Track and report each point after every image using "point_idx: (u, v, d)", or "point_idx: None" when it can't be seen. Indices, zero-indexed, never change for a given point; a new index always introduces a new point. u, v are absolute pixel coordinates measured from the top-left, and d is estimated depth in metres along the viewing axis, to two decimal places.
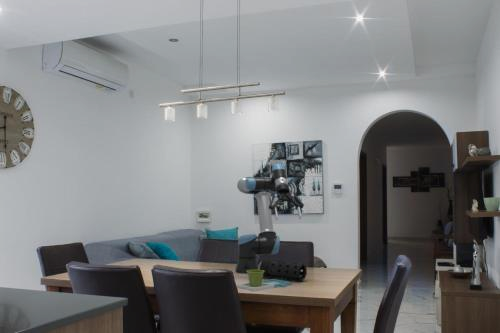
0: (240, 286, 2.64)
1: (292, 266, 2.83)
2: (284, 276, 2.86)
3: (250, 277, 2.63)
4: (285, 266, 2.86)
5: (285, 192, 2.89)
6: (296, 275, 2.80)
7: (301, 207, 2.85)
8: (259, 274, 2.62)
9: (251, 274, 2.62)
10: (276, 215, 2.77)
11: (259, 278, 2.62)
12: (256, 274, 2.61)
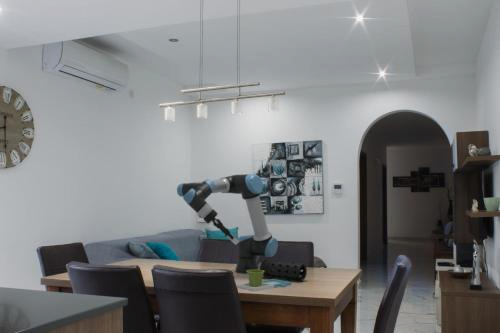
0: (240, 286, 2.64)
1: (292, 266, 2.83)
2: (284, 276, 2.86)
3: (250, 277, 2.63)
4: (285, 266, 2.86)
5: None
6: (296, 275, 2.80)
7: (228, 234, 2.56)
8: (259, 274, 2.62)
9: (251, 274, 2.62)
10: None
11: (259, 278, 2.62)
12: (256, 274, 2.61)
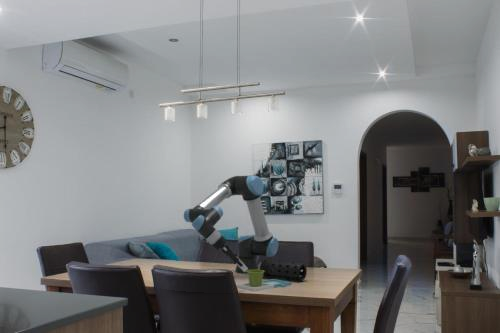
0: (240, 286, 2.64)
1: (292, 266, 2.83)
2: (284, 276, 2.86)
3: (250, 277, 2.63)
4: (285, 266, 2.86)
5: None
6: (296, 275, 2.80)
7: (237, 261, 2.55)
8: (259, 274, 2.62)
9: (251, 274, 2.62)
10: None
11: (259, 278, 2.62)
12: (256, 274, 2.61)
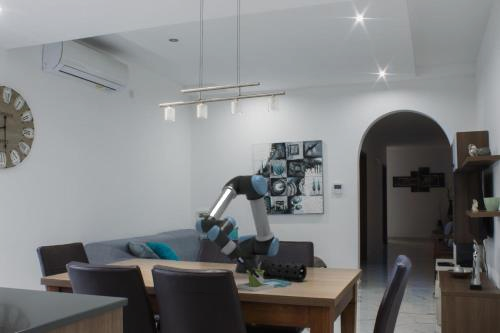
0: (240, 286, 2.64)
1: (292, 266, 2.83)
2: (284, 276, 2.86)
3: (250, 277, 2.63)
4: (285, 266, 2.86)
5: None
6: (296, 275, 2.80)
7: (253, 273, 2.59)
8: None
9: None
10: None
11: None
12: None
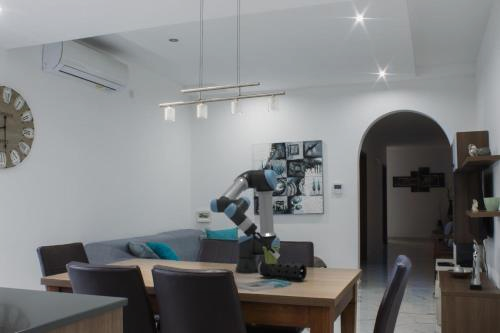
0: (240, 286, 2.64)
1: (292, 266, 2.83)
2: (284, 276, 2.86)
3: (266, 253, 2.71)
4: (285, 266, 2.86)
5: (252, 234, 2.72)
6: (296, 275, 2.80)
7: (270, 248, 2.67)
8: None
9: None
10: None
11: None
12: None
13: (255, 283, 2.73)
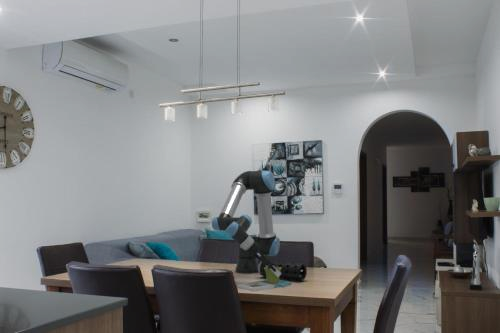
0: (240, 286, 2.64)
1: (292, 266, 2.83)
2: (284, 276, 2.86)
3: (268, 274, 2.71)
4: (285, 266, 2.86)
5: (254, 253, 2.72)
6: (296, 275, 2.80)
7: (271, 267, 2.66)
8: None
9: (269, 271, 2.70)
10: None
11: None
12: None
13: (255, 283, 2.73)
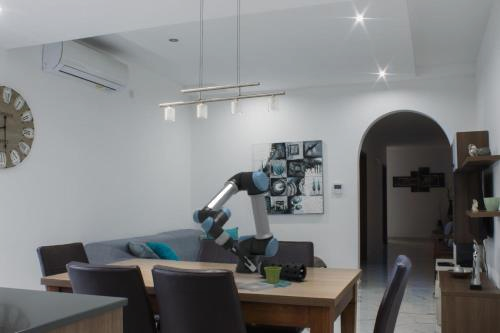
0: (240, 286, 2.64)
1: (292, 266, 2.83)
2: (284, 276, 2.86)
3: (268, 274, 2.71)
4: (285, 266, 2.86)
5: None
6: (296, 275, 2.80)
7: (245, 261, 2.64)
8: (276, 271, 2.70)
9: (269, 271, 2.70)
10: None
11: (276, 275, 2.71)
12: (274, 271, 2.70)
13: (255, 283, 2.73)
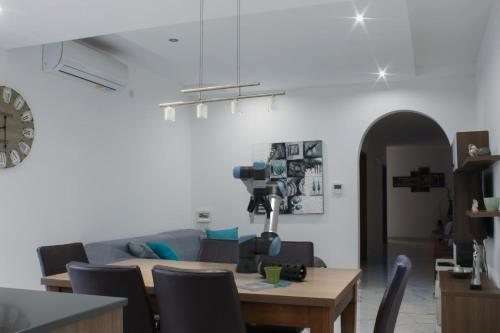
0: (240, 286, 2.64)
1: (292, 266, 2.83)
2: (284, 276, 2.86)
3: (268, 274, 2.71)
4: (285, 266, 2.86)
5: (259, 195, 2.96)
6: (296, 275, 2.80)
7: (269, 212, 2.90)
8: (276, 271, 2.70)
9: (269, 271, 2.70)
10: None
11: (276, 275, 2.71)
12: (274, 271, 2.70)
13: (255, 283, 2.73)
